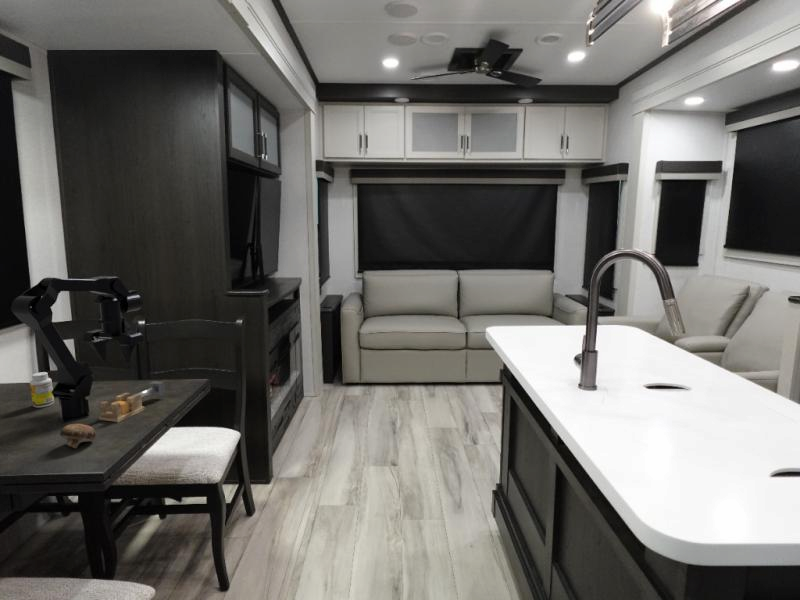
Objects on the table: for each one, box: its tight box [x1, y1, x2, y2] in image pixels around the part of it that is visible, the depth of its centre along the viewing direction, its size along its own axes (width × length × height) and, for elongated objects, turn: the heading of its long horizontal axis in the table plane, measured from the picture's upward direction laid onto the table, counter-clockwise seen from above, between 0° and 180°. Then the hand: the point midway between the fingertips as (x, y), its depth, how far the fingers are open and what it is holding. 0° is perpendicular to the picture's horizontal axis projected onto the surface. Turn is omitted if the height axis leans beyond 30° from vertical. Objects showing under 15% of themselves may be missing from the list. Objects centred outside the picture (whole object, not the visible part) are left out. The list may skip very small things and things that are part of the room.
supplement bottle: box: [29, 371, 55, 409], centre depth 158 cm, size 6×6×10 cm
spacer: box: [110, 400, 129, 414], centre depth 149 cm, size 2×4×3 cm, turn 73°
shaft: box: [130, 380, 166, 399], centre depth 159 cm, size 12×4×4 cm, turn 163°
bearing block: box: [98, 392, 146, 423], centre depth 150 cm, size 10×7×5 cm
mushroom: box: [59, 423, 97, 449], centre depth 129 cm, size 8×8×6 cm
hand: (115, 362), depth 162 cm, fingers open, 9 cm apart
